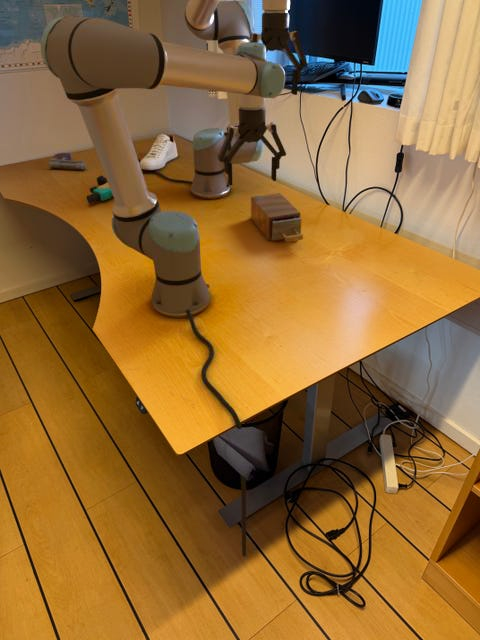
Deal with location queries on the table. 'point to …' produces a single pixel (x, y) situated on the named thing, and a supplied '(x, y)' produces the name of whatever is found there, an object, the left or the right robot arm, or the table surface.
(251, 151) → the right robot arm
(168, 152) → the sneaker
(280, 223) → the drawer
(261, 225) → the cabinet
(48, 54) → the left robot arm
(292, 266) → the table surface
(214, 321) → the table surface
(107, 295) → the table surface
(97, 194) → the toy gun
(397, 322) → the table surface
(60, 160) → the toy gun
